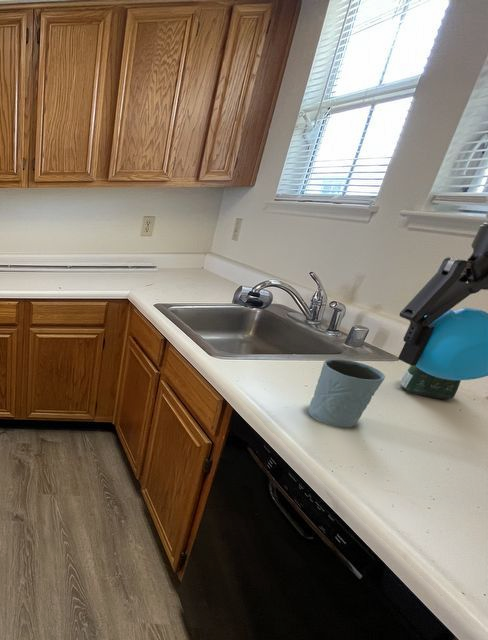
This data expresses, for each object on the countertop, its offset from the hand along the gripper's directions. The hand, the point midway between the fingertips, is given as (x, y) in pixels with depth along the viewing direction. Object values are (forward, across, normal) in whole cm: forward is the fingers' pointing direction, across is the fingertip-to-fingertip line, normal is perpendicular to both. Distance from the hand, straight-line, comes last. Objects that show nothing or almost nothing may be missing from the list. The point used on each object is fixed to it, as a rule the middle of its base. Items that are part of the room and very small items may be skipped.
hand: (448, 363), depth 68 cm
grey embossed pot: (+21, 0, -17) cm, 27 cm away
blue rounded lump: (+3, 0, 0) cm, 3 cm away
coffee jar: (+21, -31, -32) cm, 50 cm away
